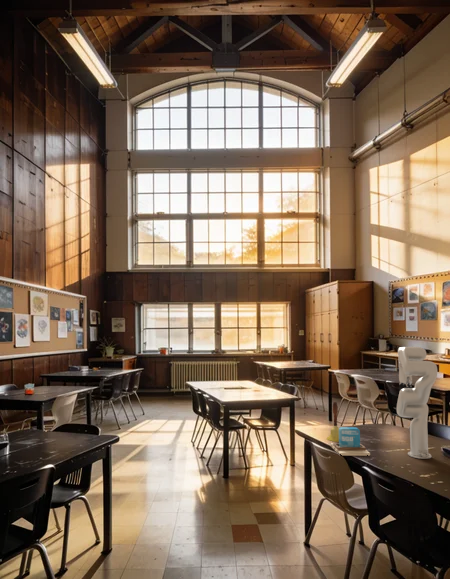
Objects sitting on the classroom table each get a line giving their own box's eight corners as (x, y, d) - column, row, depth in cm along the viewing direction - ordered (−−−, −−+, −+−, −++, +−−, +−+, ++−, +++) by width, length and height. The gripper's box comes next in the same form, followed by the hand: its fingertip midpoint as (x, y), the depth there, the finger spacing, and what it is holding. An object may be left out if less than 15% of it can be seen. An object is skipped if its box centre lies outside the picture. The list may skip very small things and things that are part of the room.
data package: (340, 448, 267) (340, 428, 268) (338, 446, 271) (338, 427, 272) (360, 449, 266) (359, 428, 268) (358, 447, 271) (357, 427, 272)
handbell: (346, 442, 289) (345, 403, 291) (327, 441, 290) (326, 403, 292) (343, 437, 301) (342, 400, 303) (325, 437, 302) (324, 400, 305)
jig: (370, 455, 258) (370, 450, 258) (339, 455, 258) (339, 450, 258) (358, 445, 280) (357, 440, 280) (330, 445, 279) (330, 440, 280)
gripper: (416, 367, 282) (417, 393, 280) (404, 364, 299) (405, 390, 297) (404, 366, 281) (405, 393, 280) (393, 364, 299) (394, 390, 297)
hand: (405, 392), depth 289 cm, fingers open, 9 cm apart
